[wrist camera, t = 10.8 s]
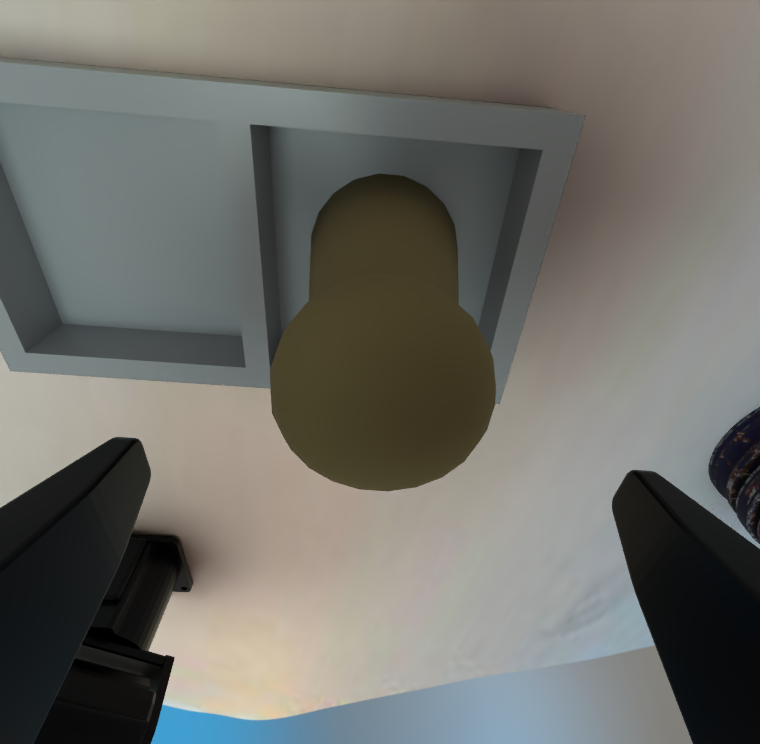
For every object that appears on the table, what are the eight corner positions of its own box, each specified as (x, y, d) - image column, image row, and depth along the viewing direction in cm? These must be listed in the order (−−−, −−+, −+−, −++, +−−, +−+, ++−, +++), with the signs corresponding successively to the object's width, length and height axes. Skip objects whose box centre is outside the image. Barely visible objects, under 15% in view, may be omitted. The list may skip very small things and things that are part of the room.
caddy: (484, 360, 22) (499, 403, 19) (60, 330, 21) (10, 371, 18) (549, 107, 16) (585, 115, 13) (-48, 52, 15) (-150, 48, 12)
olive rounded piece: (285, 274, 18) (189, 468, 9) (357, 138, 16) (318, 231, 6) (404, 340, 20) (418, 557, 11) (488, 229, 17) (601, 402, 8)
